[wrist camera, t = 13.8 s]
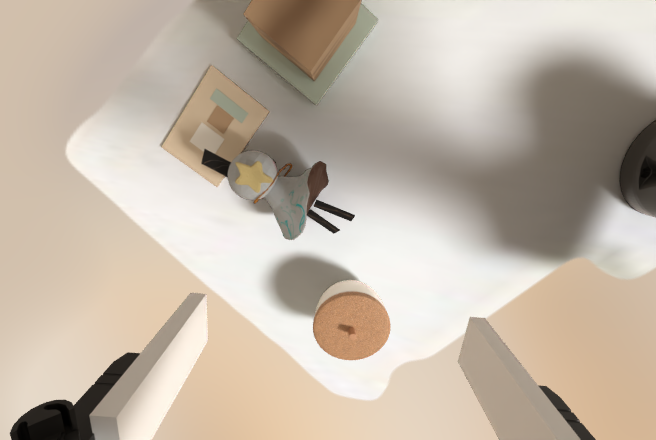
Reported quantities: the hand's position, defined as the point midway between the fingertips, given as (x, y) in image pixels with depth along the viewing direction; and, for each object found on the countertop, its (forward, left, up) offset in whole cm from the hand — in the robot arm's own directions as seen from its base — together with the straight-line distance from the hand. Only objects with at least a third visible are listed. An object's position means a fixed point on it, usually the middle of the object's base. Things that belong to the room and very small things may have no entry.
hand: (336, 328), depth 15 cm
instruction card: (+18, +3, -31) cm, 36 cm away
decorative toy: (+6, +3, -31) cm, 32 cm away
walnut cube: (+15, -14, -29) cm, 35 cm away
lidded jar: (-13, +12, -31) cm, 35 cm away
